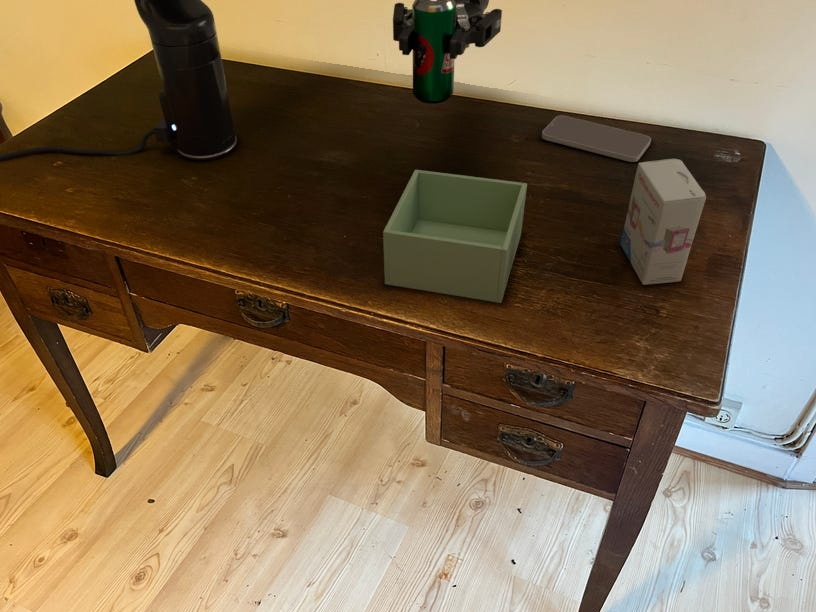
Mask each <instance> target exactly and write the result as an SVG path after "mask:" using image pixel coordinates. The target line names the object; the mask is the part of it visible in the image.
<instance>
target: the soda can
mask: <svg viewBox="0 0 816 612" xmlns="http://www.w3.org/2000/svg"><path fill="white" fill-rule="evenodd" d="M456 5H457V4H456V2H455V0H414V1H413V3H412V5H411V9H412V47H413V49H412V94H413V97H414V98H415V99H416V100H418V101H419V102H421V103H423V104H427V105H428V104H430V105H435V104H441V103H445V102H446V101H448V100H450V98H451V97H452V96H453V94H454V90H455V86H454V84H455V63H456V61H455V60H456V59H450V41H451V38H452V36H453V34H454V33H455V31H456Z"/></svg>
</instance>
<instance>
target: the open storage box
mask: <svg viewBox="0 0 816 612" xmlns="http://www.w3.org/2000/svg"><path fill="white" fill-rule="evenodd" d="M527 189H528V183H526V182H521V181H520V182H518V181H510V180H504V179H495V178H486V177H478V176H477V177H476V176H471V175H462V174H454V173H445V172H437V171H431V170H422V169H414V171H413V173H412V175H411V176H410V179H409V180H408V183H407V184H406V187H405V189H404V190H403V192H402V194H401V196H400V198H399V200H398V202H397V204H396V206H395V208H394V210H393V212H392V214H391V216H390V218H389V219H388V222H387V224H386V225H385V227H384V229H383V232H382V238H383V239H382V241H383V242H382V244H383V271H384V272H383V273H384V285H388V286H395V287H400V288H407V289H412V290H419V291H426V292H430V293H431V292H432V293H437V294H443V295H444V294H445V295H448V296H449V295H450V296H456V297H460V298H461V297H462V298H467V299H475V300H481V301H486V302H491V303H497V304H498V303H499V304H502V302H503V300H504V295H505V292H506V289H507V286H508V285H507V284H508V282H509V277H510V274H511V270H512V267H513V264H514V260H515V257H516V253H517V250H518V246H519V243H520V240H521V236H522V228H523V223H524V221H523V220H524V213H525V206H526V197H527Z"/></svg>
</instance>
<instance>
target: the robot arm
mask: <svg viewBox="0 0 816 612" xmlns="http://www.w3.org/2000/svg"><path fill="white" fill-rule="evenodd" d="M133 1H134V4H135V7H136V10H137V13H138V15H139V17H140V19H141V21H142V22H143V24H144V25H145V27H146V29H147V31H148V35H149V39H150V42H151V46H152V50H153V54H154V59H155V62H156V66H157V70H158V75H159V78H160V82H161V87H162V88H161V89H160V91H159V92H158V99H159V104H160V108H161V111H162V115H163V117H162V119H160V120H159V121H158V122H157V123H156V124H155V125H154V126H153V128H152V129H150V130H148V131H146V132H145V133H144V134H143V135H142V137H141V140H140V141H141V142H140V145H138V146H137V147H135V148H133V149H130V150H122V151H119V150H118V151H117V150H116V151H115V150H107V149H86V148H85V149H83V148H75V147H73V148H72V147H65V146H39V147H32V148H31V147H30V148H27V149H22V150H17V151H13V152H8V153H2V154H0V160H6V159H11V158H16V157H20V156H25V155H29V154H35V153H43V152H62V153H63V152H64V153H72V154H81V155H104V156H111V157H112V156H113V157H114V156H125V155H133V154H138V153H139V152H141V151H143V150H144V149H145V148H146V145H147V140H148V138H150V137H151V136H153V135H155V139H156V142H157V143H165V144H169V143H170V147H171V151H172V153H177V154H178V155H179V156H180V157H182V158H184V159H186V160H192V161H211V160H215V159H219V158H222V157H224V156H227V155H228V154H230V153H232V152H233V151H234V150H235V149H236V147H237V145H238V138H237V135H236V129H235V126H234V125H236V124H235V123H236V122H235V118H234V117H233V114H232V108H231V104H230V97H229V93H228V86H227V81H226V76H225V71H224V65H223V59H222V53H221V49H220V43H219V37H218V32H217V27H216V21H215V17H214V14H213V11H212V10H211V8H210V6H208V5H207V4H206V3H205V2H204V1H202V0H133ZM455 2H456V4H457V5H456V31H455V33H454V34H453V36H452V38H451V41H450V59H455V60H456V59H458V56H463V54H464V53H465V51H466V49H468V48H469V47H470V45H472V44H474V47H476V48H484V47H485V46H486V45H488V44H489V43H490V42H491V41H492V40H493V39H494V38H495V37H497V35H498V34H499V33H500V32H501V30H502V29H501V28H502V17H503V10H502V9H500V8H494V9H492V10H491V11H486V10H487V8H488V6H489V3H490V0H455ZM485 11H486V12H485ZM392 15H393V16H392V40H393V41H395V42H398V50H399V52H400V51H401V54H402V56H410V54H411V52H413V47H412V8H411V9H410V8H409V9H408V7H407V6H405V3H403V2H396V3H394V5H393V14H392Z"/></svg>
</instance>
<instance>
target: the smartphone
mask: <svg viewBox="0 0 816 612" xmlns="http://www.w3.org/2000/svg"><path fill="white" fill-rule="evenodd" d="M541 139H542V140H545V141H548V142H552V143H556V144H560V145H564V146H567V147H572V148H575V149H579V150H583V151H587V152H591V153H595V154H599V155H602V156H605V157H610V158H613V159H617V160H621V161H626V162H630V163H635V162H638V161H639V160H640V159H641V158H642V156H643V155H644V153H645V152H646V151H647V150H648V148H649V146H650V145H651V141H652V138H651V137H650V136H649V135H646V134H643V133H638V132H633V131H630V130H627V129H626V130H625V129H623V128H622V129H621V128H617V127H613V126H609V125H604V124H601V123H596V122H592V121H589V120H584V119H580V118H576V117H571V116H569V115H568V116H567V115H557V116H555V118H554V119H552V120H551V122H550V123H548V124H547V126H546V127H545V128H544V129H543V130H542V132H541Z"/></svg>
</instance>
